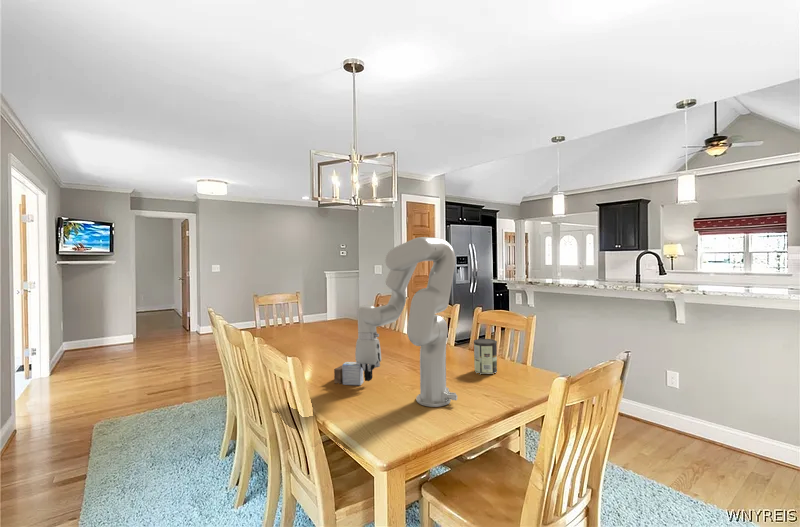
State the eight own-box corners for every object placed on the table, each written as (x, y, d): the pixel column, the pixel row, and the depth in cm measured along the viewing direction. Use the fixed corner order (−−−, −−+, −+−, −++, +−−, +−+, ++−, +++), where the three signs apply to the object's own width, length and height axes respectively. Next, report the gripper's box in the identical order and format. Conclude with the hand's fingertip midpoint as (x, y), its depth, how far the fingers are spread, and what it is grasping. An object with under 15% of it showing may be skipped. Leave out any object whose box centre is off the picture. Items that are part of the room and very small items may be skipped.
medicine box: (363, 382, 166) (363, 362, 166) (360, 385, 162) (360, 365, 162) (345, 381, 168) (345, 361, 168) (342, 385, 164) (342, 364, 163)
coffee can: (488, 367, 185) (488, 337, 185) (501, 373, 176) (501, 342, 175) (469, 370, 181) (469, 339, 181) (482, 376, 172) (481, 344, 171)
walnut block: (355, 375, 176) (355, 362, 176) (340, 383, 165) (340, 369, 165) (349, 374, 177) (349, 361, 177) (334, 383, 166) (334, 369, 166)
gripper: (387, 335, 161) (388, 379, 162) (356, 332, 168) (357, 375, 168) (379, 338, 154) (380, 385, 155) (346, 336, 161) (348, 380, 161)
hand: (368, 380), depth 161 cm, fingers closed
